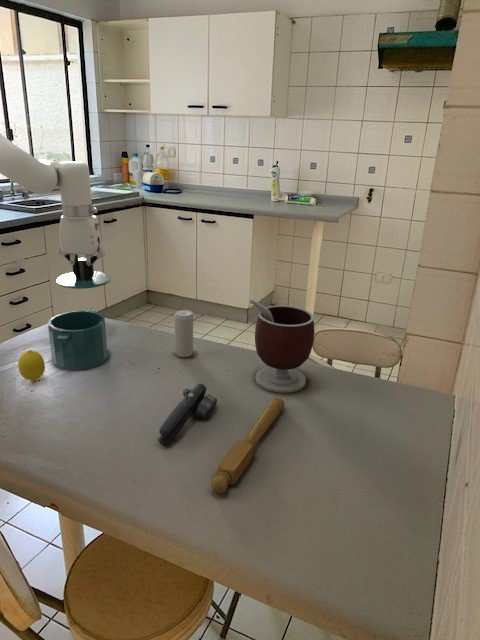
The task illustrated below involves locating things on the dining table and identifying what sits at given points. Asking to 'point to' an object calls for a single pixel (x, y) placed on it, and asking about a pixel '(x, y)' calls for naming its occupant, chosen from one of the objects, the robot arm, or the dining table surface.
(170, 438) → the can opener
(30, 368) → the lemon
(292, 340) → the mate gourd
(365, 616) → the dining table surface
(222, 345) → the dining table surface
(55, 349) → the pot
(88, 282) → the lid
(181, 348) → the beverage can
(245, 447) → the tap handle
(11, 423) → the dining table surface
